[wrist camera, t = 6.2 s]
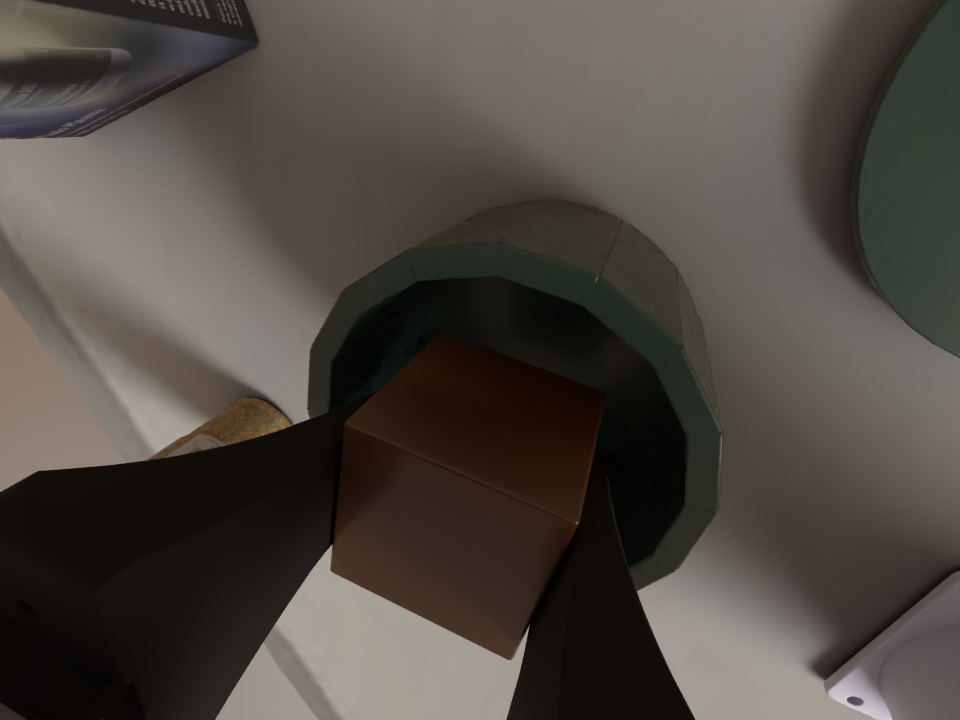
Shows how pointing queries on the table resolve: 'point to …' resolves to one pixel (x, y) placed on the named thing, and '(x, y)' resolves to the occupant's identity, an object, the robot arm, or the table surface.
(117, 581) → the robot arm
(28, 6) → the small box
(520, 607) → the block
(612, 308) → the green faceted bucket
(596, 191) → the table surface
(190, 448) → the sprinkles bottle
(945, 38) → the lid
